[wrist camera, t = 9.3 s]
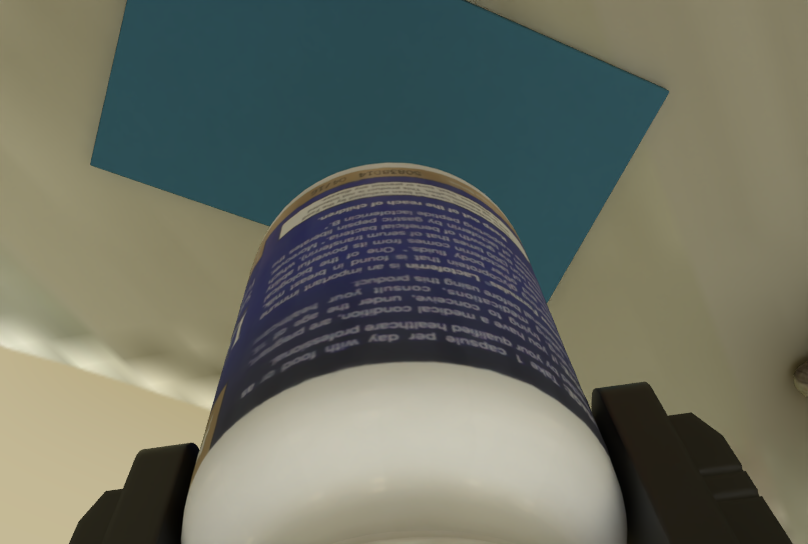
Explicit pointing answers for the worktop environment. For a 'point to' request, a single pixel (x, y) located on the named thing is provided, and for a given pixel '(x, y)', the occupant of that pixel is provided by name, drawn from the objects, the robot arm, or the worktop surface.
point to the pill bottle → (398, 383)
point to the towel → (370, 108)
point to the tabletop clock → (802, 378)
